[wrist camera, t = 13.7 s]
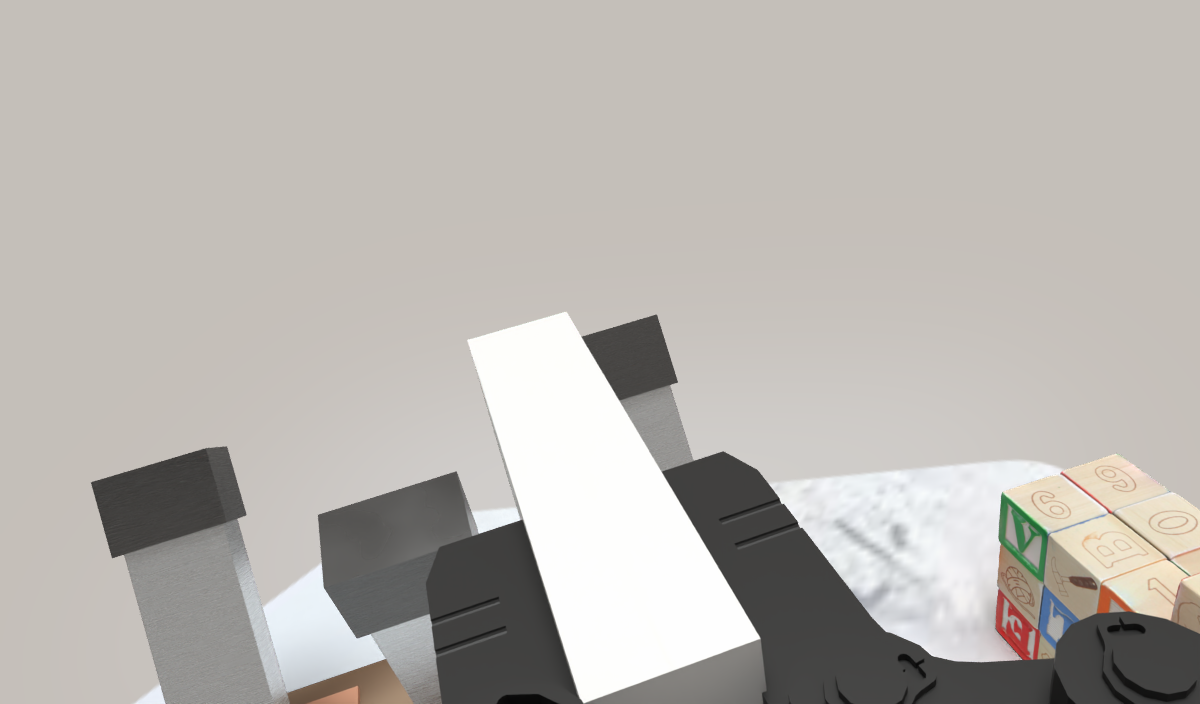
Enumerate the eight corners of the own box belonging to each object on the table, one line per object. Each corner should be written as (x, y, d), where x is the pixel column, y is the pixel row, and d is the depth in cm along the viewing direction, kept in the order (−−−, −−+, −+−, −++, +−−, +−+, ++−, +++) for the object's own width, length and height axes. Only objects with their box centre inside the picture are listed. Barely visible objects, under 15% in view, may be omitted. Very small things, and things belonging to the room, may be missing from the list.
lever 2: (751, 619, 37) (656, 314, 38) (654, 654, 36) (559, 343, 37) (733, 606, 40) (645, 322, 40) (643, 638, 39) (554, 349, 40)
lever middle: (544, 725, 35) (472, 538, 26) (438, 763, 35) (323, 587, 25) (528, 665, 37) (456, 471, 28) (427, 701, 37) (318, 515, 27)
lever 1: (300, 782, 34) (205, 448, 35) (186, 823, 33) (90, 482, 34) (315, 754, 37) (226, 446, 37) (209, 792, 36) (121, 477, 37)
